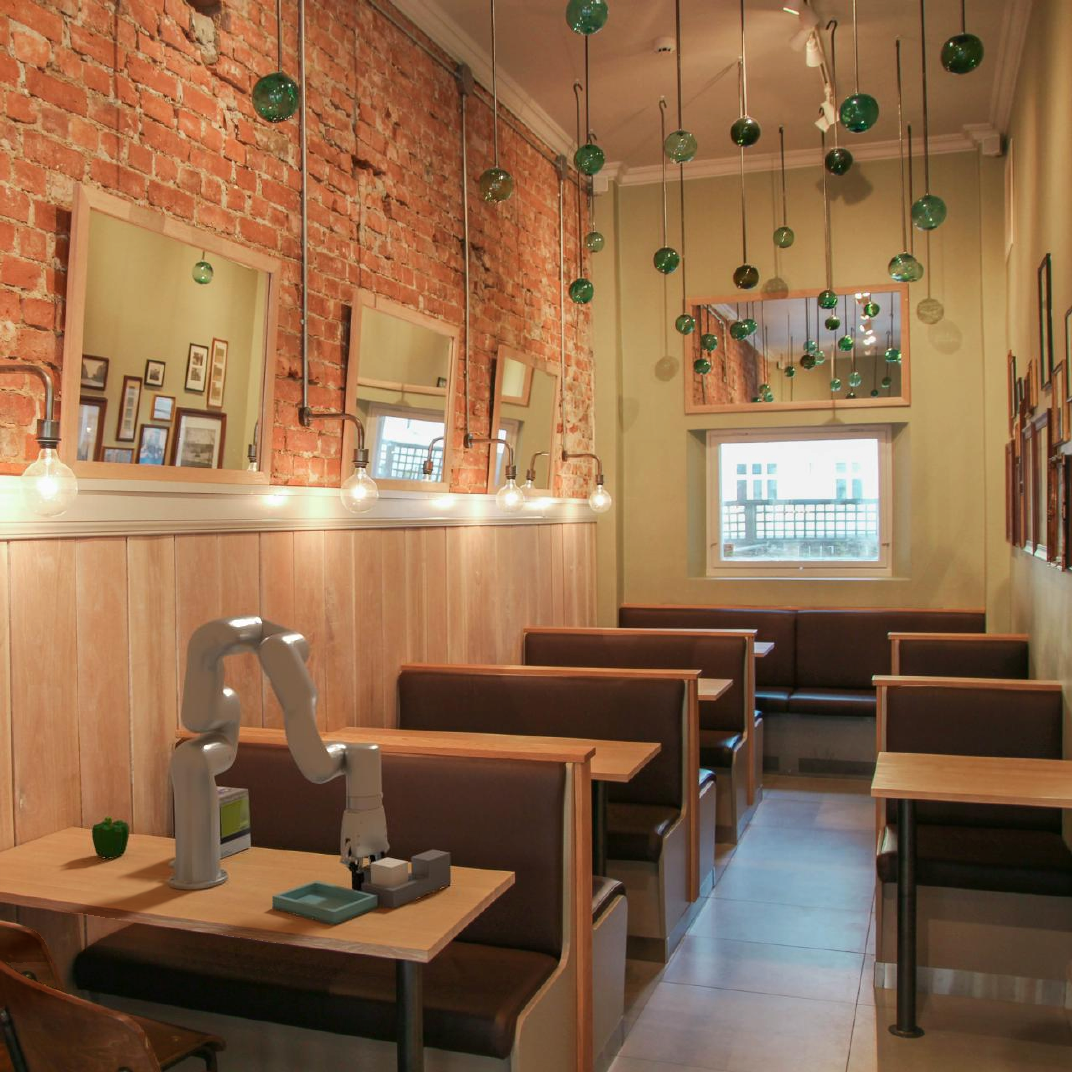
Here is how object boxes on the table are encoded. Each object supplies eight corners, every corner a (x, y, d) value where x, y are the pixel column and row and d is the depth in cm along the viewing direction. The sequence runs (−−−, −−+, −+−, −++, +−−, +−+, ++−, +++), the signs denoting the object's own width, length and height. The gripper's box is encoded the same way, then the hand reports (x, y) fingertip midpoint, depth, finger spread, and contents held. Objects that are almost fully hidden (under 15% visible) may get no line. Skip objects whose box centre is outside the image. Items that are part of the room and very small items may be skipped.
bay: (361, 900, 231) (361, 866, 231) (419, 878, 246) (419, 846, 246) (393, 908, 226) (392, 873, 226) (450, 885, 241) (450, 852, 241)
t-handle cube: (356, 892, 237) (355, 860, 237) (373, 886, 241) (372, 854, 241) (392, 901, 230) (391, 867, 231) (408, 894, 235) (407, 861, 235)
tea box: (220, 844, 277) (219, 784, 277) (251, 848, 273) (250, 788, 273) (175, 860, 264) (174, 797, 264) (208, 865, 259) (207, 801, 259)
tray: (272, 908, 228) (272, 896, 228) (316, 892, 237) (316, 880, 237) (334, 924, 217) (334, 912, 217) (377, 907, 227) (377, 895, 227)
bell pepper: (107, 850, 273) (106, 809, 273) (135, 852, 270) (135, 811, 271) (84, 859, 265) (83, 818, 265) (113, 862, 262) (112, 820, 263)
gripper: (378, 792, 247) (380, 874, 247) (323, 807, 234) (325, 895, 234) (403, 796, 243) (405, 880, 243) (348, 812, 229) (350, 901, 229)
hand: (366, 886), depth 238 cm, fingers closed on t-handle cube, 4 cm apart
